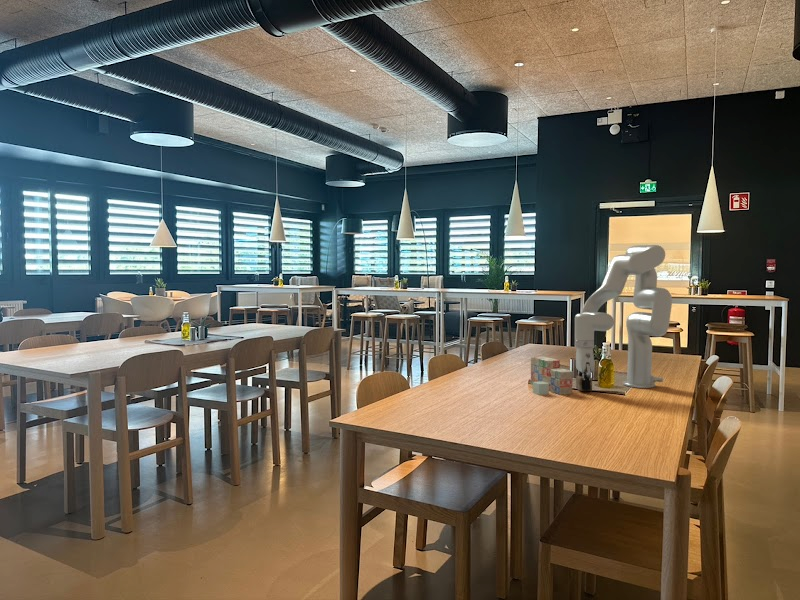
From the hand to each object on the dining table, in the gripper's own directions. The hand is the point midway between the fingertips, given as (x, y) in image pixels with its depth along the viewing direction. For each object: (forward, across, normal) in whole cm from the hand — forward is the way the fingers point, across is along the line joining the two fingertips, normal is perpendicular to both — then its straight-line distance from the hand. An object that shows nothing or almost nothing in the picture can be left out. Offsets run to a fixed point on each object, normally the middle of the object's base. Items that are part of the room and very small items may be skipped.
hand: (583, 387), depth 230 cm
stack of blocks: (+2, +4, +13) cm, 13 cm away
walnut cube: (+1, 0, 0) cm, 1 cm away
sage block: (+1, -5, +19) cm, 19 cm away
